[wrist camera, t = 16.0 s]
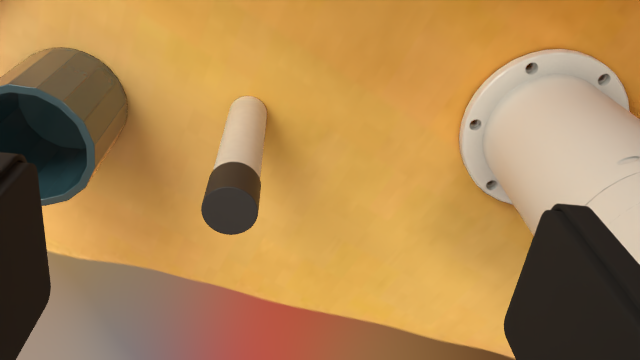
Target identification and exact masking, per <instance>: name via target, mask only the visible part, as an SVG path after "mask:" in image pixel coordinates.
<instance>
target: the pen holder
mask: <svg viewBox="0 0 640 360" xmlns="http://www.w3.org/2000/svg"><path fill="white" fill-rule="evenodd" d="M126 118H127V100H126V96H125V93H124V90H123V88H122V86H121V84H120V82H119V80H118V79H117V77H116V76H115V75H114V73H113V72H112V71H111V70H110V69H109V68H108V67H107V66H106V65H105V64H103V63H102V62H101V61H99V60H98V59H96V58H95V57H93V56H91V55H89V54H87V53H85V52H82V51H79V50H75V49H70V48H51V49H46V50H43V51H40V52H38V53H35V54H33V55H31V56H30V57H28V58H27V59H25V60H24V61H23V62H21V63H20V64H18V65H17V66H16V67H14V68H13V69H11V70H10V71H9V72H7V73H6V74H4V75H3V76H2V77H0V152H2V153H13V154H22V155H23V156H24V157H25V158H26V160H27V163H33V164H34V165H35V166H36V168H37V172H38V180H39V189H40V198H41V206H44V205H45V206H46V205H50V204H55V203H59V202H63V201H67V200H69V199H71V198H72V197H73V196H75V195H76V194H77V193H79V192H80V191H81V190H83V189H84V188H85V187H86V186H87V184H88V183H89V181H90V180H91V178H92V177H93V175H94V174H95V172H96V171H97V169H98V168H99V166H100V165H101V163H102V161H103V160H104V158H105V157H106V155H107V154H108V152H109V151H110V149H111V148H112V146H113V145H114V143H115V142H116V140H117V138H118V136H119V134H120V132H121V131H122V129H123V127H124V125H125V122H126Z"/></svg>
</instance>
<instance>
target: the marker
mask: <svg viewBox="0 0 640 360" xmlns="http://www.w3.org/2000/svg"><path fill="white" fill-rule="evenodd" d="M266 121H267V110H266V107H265V105H264V104H263V103H262V102H261V101H260V100H259V99H257V98H255V97H252V96H243V97H240V98H238V99H236V100H235V101H234V102H233V103H232V105H231V107H230V110H229V113H228V117H227V121H226V125H225V128H224V132H223V136H222V139H221V143H220V147H219V151H218V154H217V158H216V162H215V165H214V169H213V172H212V173H211V175H210V177H209V181H208V184H207V188H206V192H205V195H204V199H203V203H202V208H201V211H202V216H203V218H204V220H205V222H206V223H207V224H208V225H209V226H210V227H211V228H212V229H213V230H215V231H217V232H220V233H223V234H229V235H233V234H239V233H242V232H245V231H246V230H248V229H249V228H251V227H252V226H253V224H254V223H255V221H256V219H257V216H258V209H259V199H260V190H261V182H260V174H261V165H262V156H263V147H264V139H265V130H266Z"/></svg>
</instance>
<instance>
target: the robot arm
mask: <svg viewBox="0 0 640 360" xmlns="http://www.w3.org/2000/svg"><path fill="white" fill-rule="evenodd" d="M530 63H531V65H530V67H528V68H526V67H527V65H528V64H530ZM600 76H601V77H600ZM599 77H600V78H599ZM473 120H475V122H474V123H471V121H473ZM459 144H460V153H461V156H462V160H463V163H464V165H465V167H466V169H467V171H468V173H469V175H470V176H471V178H472V179H473V180H474V182H475V183H476V185H477V186H478V187H480V188H481V189H482V190H483V191H484V192H485V193H486V194H488V195H490V196H492V197H494V198H495V199H497V200H499V201H502V202H506V203H509V204H513V205H514V206H515V208H516V209H517V211H518V212H519V214H520V216H521V217H522V219H523V220H524V222H525V223H526V225H527V226H528V228H529V230H530V231H531V233H532V234H533V236H534V237H533V240H532V243H531V246H530V248H529V251H528V254H527V257H526V260H525V263H524V265H523V268H522V271H521V274H520V277H519V279H518V282H517V285H516V288H515V291H514V294H513V296H512V299H511V302H510V305H509V308H508V310H507V313H506V316H505V320H504V331H505V335H506V338H507V340H508V343H509V345H510V347H511V349H512V352H513V354H514V356H515V358H516V360H640V119H639V118H637V117H636V116H635V115H633V114H632V113H630V110H629V102H628V97H627V94H626V92H625V89H624V86H623V84H622V83H621V81H620V80H619V79H618V77H617V76H616V74H615V73H614V72H613V71H612V70H610V69H609V68H608V67H607V66H606V65H605V64H603V63H602V62H600V61H598V60H597V59H595V58H594V57H592V56H589V55H586V54H584V53H581V52H579V51H573V50H566V49H548V50H542V51H538V52H533V53H529V54H527V55H524V56H522V57H519V58H517V59H514V60H512V61H511V62H509V63H508V64H506V65H504V66H503V67H501V68H500V69H498V70H497V71H496V72H495V73H493V74H492V75H491V76H490V77H489V78H488V79H487V80H485V81H484V83H483V84H482V85H481V86H480V88H479V89H478V90H477V91H476V92H475V94H474V95H473V97H472V99H471V101H470V102H469V104H468V106H467V108H466V110H465V113H464V116H463V119H462V122H461V127H460V134H459ZM489 181H490V182H489ZM50 288H51V286H50V275H49V266H48V258H47V249H46V241H45V232H44V223H43V215H42V206H41V198H40V189H39V180H38V172H37V168H36V166H35V165H34V164H33V163H27V160H26V158H25V157H24V156H23V155H22V154H13V153H2V152H0V360H16V358H17V356H18V355H19V353H20V351H21V349H22V347H23V346H24V344H25V342H26V341H27V339H28V337H29V335H30V333H31V332H32V330H33V328H34V326H35V325H36V322H37V321H38V319H39V318H40V316H41V314H42V312H43V310H44V309H45V307H46V305H47V303H48V300H49V296H50Z"/></svg>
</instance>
